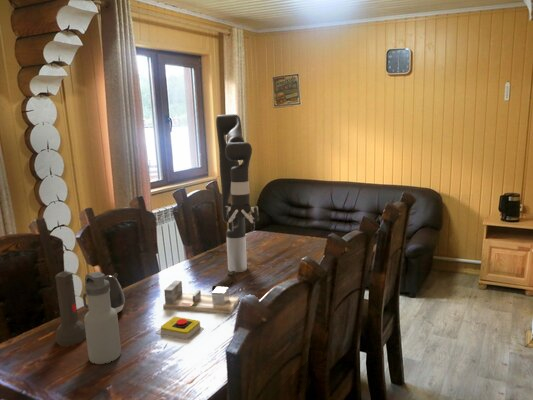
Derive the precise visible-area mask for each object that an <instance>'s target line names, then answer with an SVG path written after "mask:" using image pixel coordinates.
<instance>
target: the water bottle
mask: <svg viewBox="0 0 533 400" xmlns="http://www.w3.org/2000/svg"><path fill="white" fill-rule="evenodd" d="M105 276H106V274H105V273H102V272H100V271H94V272H91V273H87V274H86V275H85V277H84V288H85V292H83V294H82V303H83V306H84V308H87V309H88V311H87V312H86V314H85V315H84V318H83V320H84V321H83V323H84V325H85V331H86V339H85V340H86V347H87V353H88V360H89V361H90V362H91V363H92V364H94V363H95V364H96V365H104V364H105V363H106V364H109V363H112V362H114V361H116V360H117V359H118V358H119V357H120V356H121V353H122V348H121V346H122V345H121V339H120V328H119V320H118V317H119V316H118V313H117V312H116V310H115V309H114V308H112V307H111V303H110V293H109V292H110V285H109V281H108V280H105ZM86 298H87V301H86ZM111 361H112V362H111Z"/></svg>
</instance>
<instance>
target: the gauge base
mask: <svg viewBox="0 0 533 400" xmlns="http://www.w3.org/2000/svg"><path fill="white" fill-rule="evenodd" d="M163 291H164V300H165V301H164V304H163V306H162V307H163V309H167V310H178V311H179V310H180V311H191V312H193V311H194V312H206V313H207V312H208V313H221V314H231V313H232V312H233V311H234V309H235V308H236V306H237V305H238V303H239V301H240V296H230V295H229V300H228V301H227V303H226V304H225V305H215V304H213V302H212V294H201V297H200V298H199V300H198V301H197V302H196V303H194V304H193V305H192V307H190V305H191V304H192V303H193V295H194V294H195V293H183V283H182V280H174V281H172V283H171V284H169V285H168V286H167V287H165V289H164V290H163Z"/></svg>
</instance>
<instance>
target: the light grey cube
mask: <svg viewBox="0 0 533 400" xmlns="http://www.w3.org/2000/svg"><path fill="white" fill-rule="evenodd" d="M211 295H212V302H213V304H215V305H225V304H226V303H227V301H228V300H229V296H230V289H229V287H228V286H227V287H216V288H215V289H214V291H213V292H211Z"/></svg>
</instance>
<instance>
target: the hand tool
mask: <svg viewBox="0 0 533 400" xmlns="http://www.w3.org/2000/svg"><path fill="white" fill-rule="evenodd" d="M236 280H237V272H235V271H231V272H230V271H229V272H228V273H227V275H226V276H225V277H224V278H222V280H221V281H218V282H217V283H216V284H215V285H212V287H211V291H212V292H213V291H214V289H215V288H216V287H228V286H229V285H230V284H233V283H234V282H235V281H236ZM212 292H211V293H212Z"/></svg>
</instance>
